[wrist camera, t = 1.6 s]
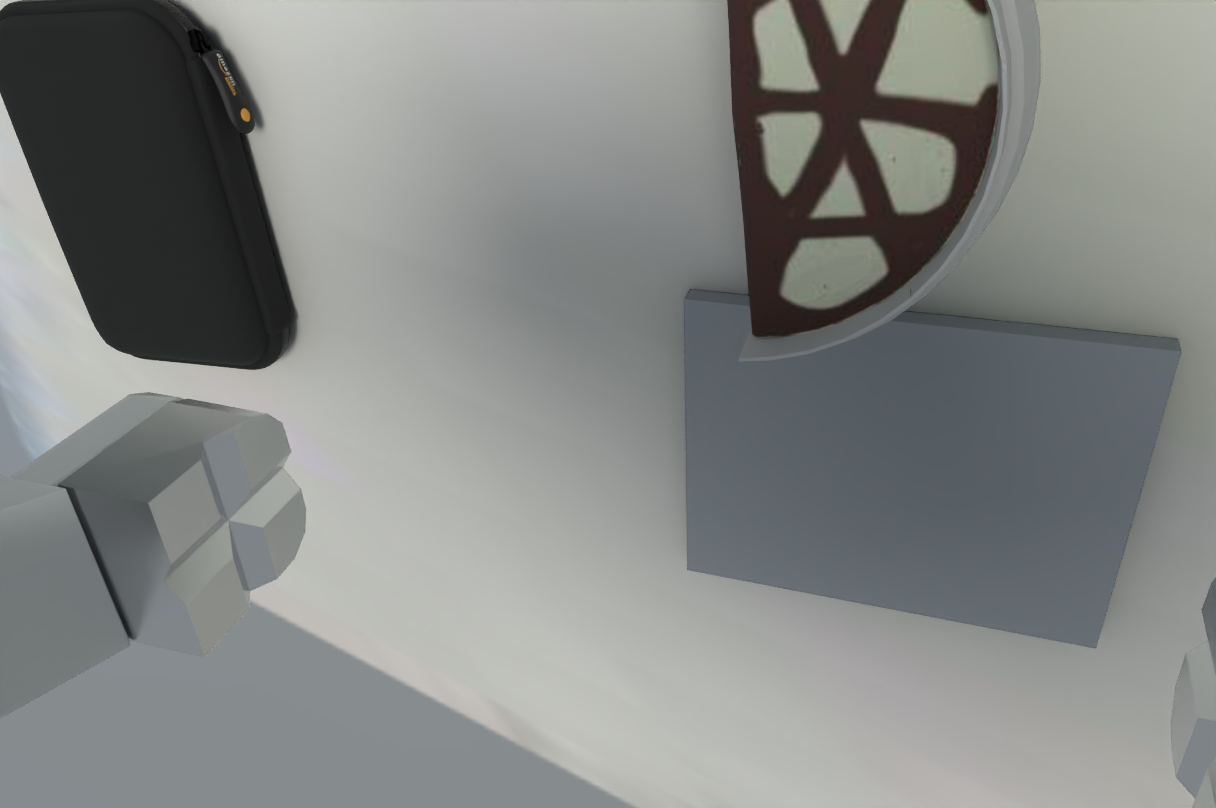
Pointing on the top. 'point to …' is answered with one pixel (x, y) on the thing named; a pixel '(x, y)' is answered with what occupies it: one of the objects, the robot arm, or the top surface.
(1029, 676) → the top surface
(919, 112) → the food container
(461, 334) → the top surface
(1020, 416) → the slate mat
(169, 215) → the carrying case or bag
